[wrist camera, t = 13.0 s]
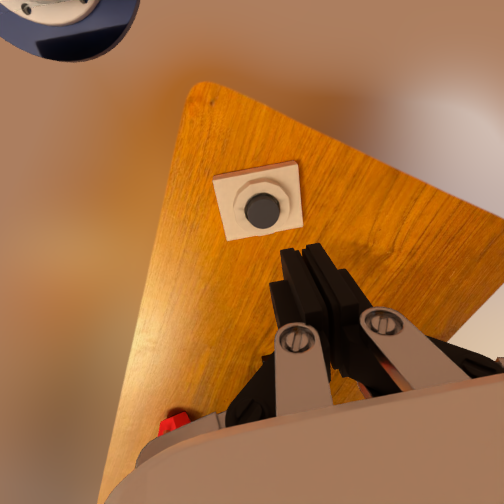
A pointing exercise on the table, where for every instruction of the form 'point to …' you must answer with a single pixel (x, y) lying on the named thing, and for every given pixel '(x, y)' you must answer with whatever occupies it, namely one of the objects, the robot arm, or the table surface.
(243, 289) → the table surface
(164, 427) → the apple
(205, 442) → the robot arm
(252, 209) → the button
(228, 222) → the block
